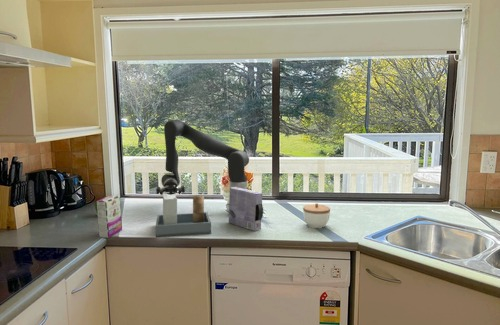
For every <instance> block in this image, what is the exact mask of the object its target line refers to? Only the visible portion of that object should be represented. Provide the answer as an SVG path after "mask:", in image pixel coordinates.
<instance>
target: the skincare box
mask: <svg viewBox="0 0 500 325" xmlns="http://www.w3.org/2000/svg"><path fill="white" fill-rule="evenodd" d="M177 214H178V198H177V195H176V194H172V195H169V194H163V195H162V215H163V225H170V224H177Z"/></svg>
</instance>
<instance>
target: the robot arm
mask: <svg viewBox="0 0 500 325" xmlns="http://www.w3.org/2000/svg"><path fill="white" fill-rule="evenodd" d="M163 132H164V141H165V171H167V172H168V173H171V174H163V175H162V177H161V185H162V187H160V186H157V187H156V189H155V190H156V191H155V192H156V194H157V195H161V196H163V195H176V194H178V195H181V194H182V193H184V194H185V191H186V190H185V185H181V186H180V184H181V178H180V175H179V154H178V151H177V148H176V140H177V137H183V138H185V139H187V140H188V141H190V142H192V144H193V145H194V147H195V148H197V149H198V150H200V151H202V152H204V153H206V154H209V155H211V156H216V157H220V158H223V159H226V160H227V173H228V177H229V189H230V188H231V187H238V188H242V189H247V190H248V176H247V175H246V174H245V167H246V166H247V165H249V163H250V157H249V155H248V153H247V152H245V150H244V151H243V150H242V149H239V148H235V147H233V146H230V145H228V144H226V143H225V142H223V141H221V140H219V139H217V138H215V137H213V136H211V135H209V134H208V133H205V132H202V131H200V130H199V129H197V128H194V127H192V126H191V125H189V124H188V123H186V122H184V121H182V120H181V119H173V120H169V121H166V123H165V124H164V127H163Z"/></svg>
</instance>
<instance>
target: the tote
mask: <svg viewBox="0 0 500 325" xmlns="http://www.w3.org/2000/svg"><path fill="white" fill-rule="evenodd" d="M208 234H210V235H211V234H212V222H211V219H210V215H209V212H205V211H204V222H202V223H193V212H191V213H190V212H189V213H177V224H170V225H163V214H157V215H156V222H155V237H156V238H162V237H164V238H165V237H179V236H191V235H192V236H193V235H194V236H195V235H208Z"/></svg>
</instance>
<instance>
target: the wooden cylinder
mask: <svg viewBox="0 0 500 325" xmlns="http://www.w3.org/2000/svg"><path fill="white" fill-rule="evenodd" d="M192 213H193V223H202V222H204V213H205V196H204V195H201V194H199V195H198V194H197V195H196V194H195V195H193V196H192Z"/></svg>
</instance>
